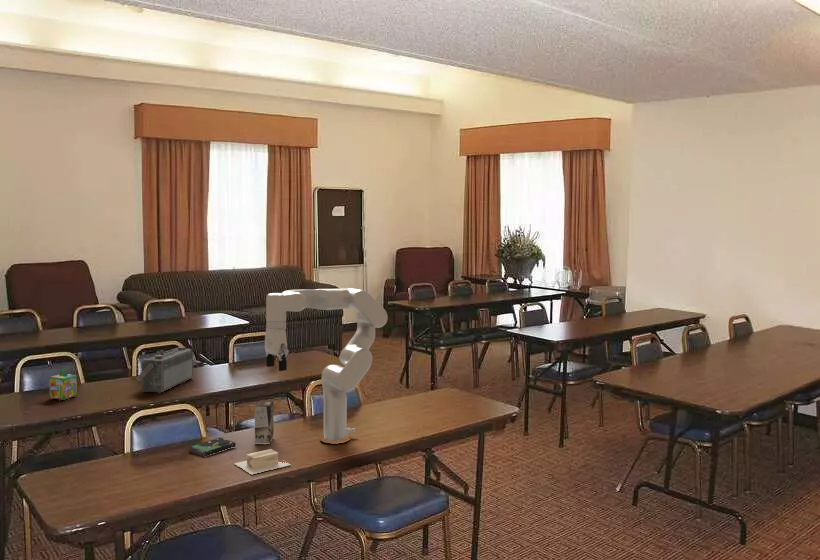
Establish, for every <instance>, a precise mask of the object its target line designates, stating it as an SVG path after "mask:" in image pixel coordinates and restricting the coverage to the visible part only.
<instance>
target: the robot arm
mask: <svg viewBox="0 0 820 560" xmlns="http://www.w3.org/2000/svg"><path fill="white" fill-rule="evenodd" d="M265 302H266V308H265V309H266V310H265V311H266V312H265V313H266V317H265V318H266V321H265V322H266V326H265V327H266V328H265V335H264V351H265V358H266V359H265V360H266V362H265V363H266V367H267V368H268V367H269V368H270V367H274V366H275V356H277V357H278V359H279V360H278V371H279V372H283V371H287V370H288V369H287V368H288V362H287V361H288V357H289V351H290V350H289V349H288V342H287V341H288V340H287V331H286V329H287V312H294V313H295V312H301V311H304V309H316V310H320V311H321V310H322V311H323V310H325V311H333V310H345V309H346V310H347V309H353V310H356V313H355V314H356V318H355V319H356V322H357V323H356V324H357V328H356V331H355V333H354V335H353V336H352V337H351V339H350V340H349V341H348V342H347V344H346V345H345V346H344V348H343V349H342V350H341V351H340V353H339V361H340V363H341V364H342V365H344V366H341V365H339V364H329V365H327V366H325V367H324V369H323V370H322V373H321V384H322V391H323V392H322V393H323V395H322V396H323V435H324V439H326V440H331V441H337V440H342V439H344V438H346V436H350V435H351V434H355V433H357V428H355V427H353V428H351V427H347V426H348V425H347V422H348V421H347V415H348V413H347V410H348V409H347V404H348V402H347V401H348V400H347V399H348V397H347V393H349V392H352V391H353V390H354V389H355V388H356V387H357V386H358V385H359V383H360V382H361V380H362V379H363V378H364V377H365V375H366V374H367V373H368V371H369V370H370V369H371V366H372V363H373V354H372V352H371V351H370V348H371V347H372V345H373V344H374V342H375V339H376V329H380V328H383V327H384V326H385V325H386V324H387V322H388V318H389V317H388V313H387V310H386V309H385V308H384V307H383V306H382V305H381V304H380V303H379V302H378V301H377V300H376V299H375V298H374V297H373V296H372V295H371V294H370V293H368V291H366V290H365V289H359V288H355V287H344V288H341V287H340V288H317V289H289V290H284V291H282V292H272V293H271V292H270V293H268V294H267V295H266V298H265Z"/></svg>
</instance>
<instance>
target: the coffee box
mask: <svg viewBox="0 0 820 560" xmlns="http://www.w3.org/2000/svg"><path fill="white" fill-rule="evenodd" d="M274 402H275V401H274V400H258V402H257V403H256V404H255V406H254V444H255V443H270V442H271V440H272V438H273V436H274V437H275V435H274V434H275V433H274V432H275V430H274V429H275V428H274V426H275V424H274V423H275V419H274V414H275V413H274V411H275V410H274ZM272 441H273V440H272ZM271 443H272V442H271Z"/></svg>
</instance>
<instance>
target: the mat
mask: <svg viewBox="0 0 820 560" xmlns="http://www.w3.org/2000/svg"><path fill="white" fill-rule="evenodd" d="M286 462H287V461H285V463H284V462H283V463H282V462H278V464H273V465H269V466H264V467H260V468H256V469H253V468H251V467H250V466H248V465H247V460H244V461H238V462H234V464H235V465H237V466H238V467H240V468H242V469H243V470H245V471H246V472H248V473H249V474H248V473H247V474H248V475H250V474H251V475H253V474H257V473H261V472H264V471H268V470H273V469H277V468H281V467H285V466H289V465H291V463H289V462H287V463H286ZM234 464H233V465H234ZM235 465H234V466H235ZM237 466H236V467H237ZM291 466H292V465H291ZM238 467H237V468H238ZM240 468H239V469H240ZM242 469H241V470H242ZM243 470H242V471H243ZM245 471H244V472H245ZM273 471H274V470H273ZM246 472H245V473H246ZM261 474H262V473H261ZM251 475H250V476H251ZM257 475H258V474H257ZM253 476H254V475H253Z"/></svg>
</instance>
